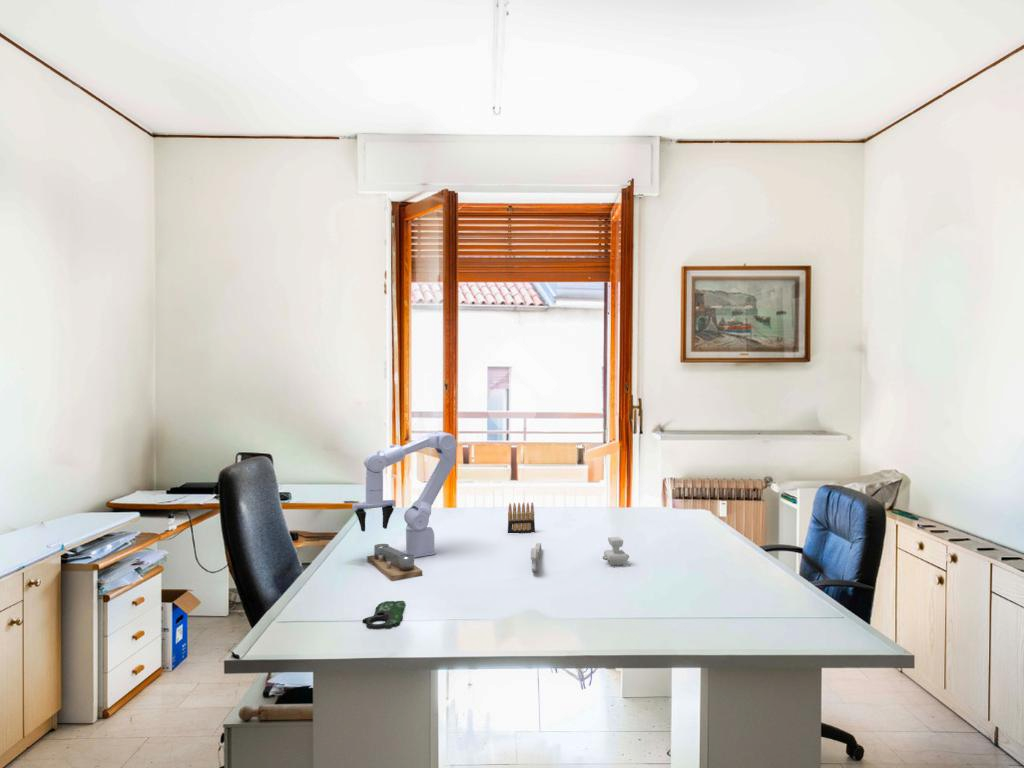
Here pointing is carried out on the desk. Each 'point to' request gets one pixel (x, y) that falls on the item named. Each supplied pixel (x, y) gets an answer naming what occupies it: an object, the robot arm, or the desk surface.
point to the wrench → (535, 556)
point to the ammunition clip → (521, 519)
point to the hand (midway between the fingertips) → (374, 529)
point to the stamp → (615, 552)
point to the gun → (386, 615)
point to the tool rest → (393, 569)
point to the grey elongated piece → (394, 557)
